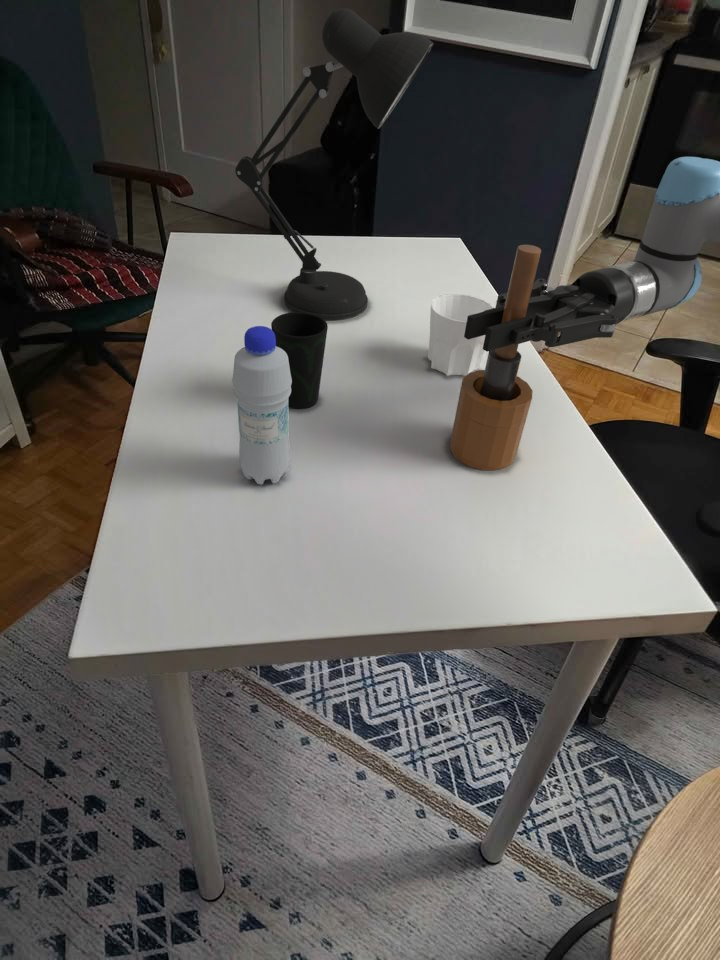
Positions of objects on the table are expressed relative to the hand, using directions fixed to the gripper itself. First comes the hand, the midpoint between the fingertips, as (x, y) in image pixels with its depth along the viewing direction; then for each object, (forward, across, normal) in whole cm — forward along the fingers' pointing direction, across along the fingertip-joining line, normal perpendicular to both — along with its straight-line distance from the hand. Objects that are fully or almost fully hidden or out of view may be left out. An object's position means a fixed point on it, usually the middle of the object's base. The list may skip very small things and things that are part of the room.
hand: (477, 333), depth 74 cm
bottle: (+23, +10, -19) cm, 31 cm away
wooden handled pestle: (-5, 0, -11) cm, 12 cm away
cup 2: (-17, +20, -19) cm, 33 cm away
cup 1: (+10, +23, -19) cm, 32 cm away
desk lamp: (-11, +49, -19) cm, 54 cm away
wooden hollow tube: (-5, 0, -19) cm, 20 cm away
